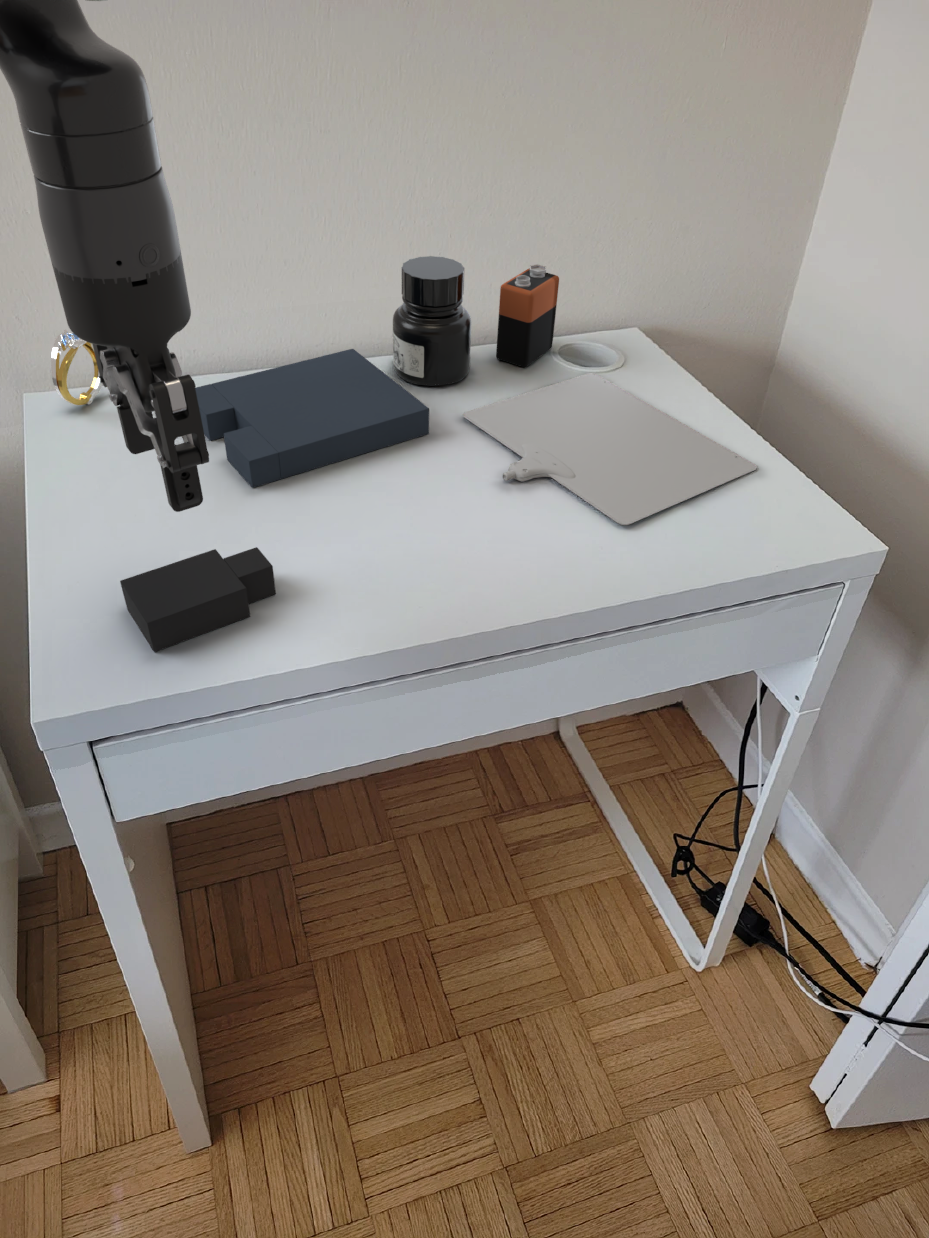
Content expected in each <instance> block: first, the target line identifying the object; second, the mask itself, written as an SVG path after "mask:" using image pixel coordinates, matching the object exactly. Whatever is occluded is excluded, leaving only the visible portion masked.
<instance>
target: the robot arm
mask: <svg viewBox="0 0 929 1238" xmlns="http://www.w3.org/2000/svg"><path fill="white" fill-rule="evenodd" d="M105 1H107V0H86V2H105ZM87 20H88V19H86V16H85V14H84V11H83V9H82V8H81V5H80V3H79V0H0V71H1V73H2V75H3V77H4V78H5V80H6V82H7V85H8V86H9V89H10V90H11V92H12V95H13V98H14V100H15V101H14V102H15V106H16V110H17V114H18V119H19V123H20V129H21V132H22V136H23V141H24V144H25V148H26V152H27V155H28V159H29V163H30V167H31V171H32V174H33V179H34V183H35V190H36V191H35V192H36V199H37V207H38V215H39V219H40V224H41V229H42V231H43V235H44V239H45V243H46V247H47V251H48V254H49V258H50V262H51V266H52V269H53V273H54V277H55V281H56V285H57V289H58V293H59V296H60V300H61V304H62V307H63V312H64V316H65V319H66V323H67V327H68V329H69V331H71V333H74V334H75V335H76V336H77V337H79V338H80V339H82V340H84V341H86V342H89V343H92V344H93V349H94V353H95V357H96V361H97V366H98V370H99V374H100V376H99V379H100V382H101V383H103V385H102V386H103V387H104V388H107V390H108V391H109V392H108V393H109V400H110V402H111V403H112V404H113V406H115V407H116V409H117V410H116V411H117V414H118V418H119V423H120V427H121V431H122V435H123V439H124V444H125V447H126V449H127V450H128V451H129V453H130V454H132V455H138V454H142V453H145V452H150V451H153V450H155V454H156V459H157V461H158V463H159V465H160V470H161V474H162V479H163V485H164V488H165V493H166V498H167V503H168V505H169V506H170V508H171V509H172V510H173V511H174V512H176V513H180V512H183V511H186V510H189V509H193V508H196V507H198V506H200V505H201V504H202V503H203V501H204V495H203V490H202V485H201V480H200V475H199V469H198V466H200V465H204V464H207V463H209V462H210V453H209V450H208V446H207V441H206V436H205V434H204V430H203V425H202V420H201V415H200V410H199V405H198V400H197V395H196V390H195V388H196V383H195V380H194V379H193V377H192V376H191V374H185V375H184V374H183V371H182V367H181V365H180V362H179V360H178V357H177V355H176V353H175V352H173V351H171V352H170V349H169V348H168V343H169V342H170V340H171V339H172V338H173V337H174V336H175V335H176V334H178V333H179V332H181V331H182V330H183V329H185V327H186V326H187V325H188V323H189V322H190V319H191V315H192V307H191V304H190V297H189V291H188V286H187V280H186V275H185V274H186V273H185V268H184V263H183V261H184V260H183V256H182V251H181V245H180V238H179V232H178V227H177V221H176V215H175V209H174V205H173V200H172V197H171V194H170V192H169V188H168V186H167V182H166V179H165V178H166V177H165V174H164V169H163V166H162V160H161V154H160V149H159V142H158V137H157V130H156V126H155V125H156V124H155V119H154V113H153V108H152V107H153V106H152V101H151V97H150V92H149V87H148V83H147V80H146V77H145V74H144V72H143V69H142V68H141V66H140V65H139V63H137V61H136V60H135V59H134V58H133V57H132V56H130V55H129V54H127V53H126V52H124V51H123V50H120V49H119V48H117V47H115V46H113V45H112V44H110V43H108V42H106V41H105V40H103V39H102V37H99V36H98V35H97V34H96V33H95V32H94V31H93V29H92V28H91V26H90V24H89V22H88V21H87ZM182 374H183V375H182ZM153 412H154V413H155V417H154V415H153ZM178 438H181V439H182V441H183V442H182V443H178V444H176V443H175V441H176V439H178Z"/></svg>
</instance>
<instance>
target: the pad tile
mask: <svg viewBox="0 0 929 1238" xmlns="http://www.w3.org/2000/svg"><path fill="white" fill-rule="evenodd" d="M119 582H120V587H121V591H122V594H123V598H124V602H125V606H126V609H127V611H128V613H129V614H130V616H131V618H132V619H133V621H134V622H135V624H136V626H137V627H138V629H139V630H140V632H141V634H142V636H143V637H144V638H145V640H146V641H147V643H148V645H149V646H150V648H151V650H152V651H153V653H156V652H158V651H161V650H164V649H167V648H170V647H172V646H175V645H177V644H180V643H182V642H183V643H184V642H186V641H189V640H192V639H194V638H196V637H199V636H202V635H205V634H207V633H210V632H213V631H215V630H217V629H221V628H223V627H226V626H228V625H231V624H235V623H237V622H239V621H242V620H245V619H247V618H250V617H251V613H250V606H249V605H250V604H252V603H255V602H258V601H260V600H263V599H267V598H269V597H271V596H274V595H276V594H277V592H276V591H277V590H276V583H275V575H274V566H273V564H272V563H271V562H270V561H269V559H267V557H266V556H265V554H264V553H262V551H261V550H260V549H259V548H258V547H256V546H255V547H253V548H251V549H246V550H244V551H240V552H238V553H236V554H235V553H234V554H232V555H229V556H227V557H222V555H221V554H220V553H219V551H218V550H217V549H216V548H215V549H211V550H209V551H208V550H207V551H205V552H201V553H199V554H196V555H193V556H190V557H187V558H184V559H181V560H178V561H175V562H172V563H169V564H166V565H163V566H159V567H157V568H154V569H151V570H148V571H145V572H142V573H138V574H136V575H132V576H130V577H127V578H124V579H121V580H119Z"/></svg>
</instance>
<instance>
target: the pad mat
mask: <svg viewBox="0 0 929 1238" xmlns="http://www.w3.org/2000/svg"><path fill="white" fill-rule="evenodd" d="M195 390H196V395H197V400H198V405H199V410H200V415H201V420H202V425H203V430H204V435H205V438H207V439H208V440H209V441H214V440H219V439H222V438H223V440H224V441H223V442H224V447H225V454H226V460H227V461H228V463H230V465H231V466H232V467H233V468H234V469H235V471H236V472H237V473H238V474H239V475H240V476H241V477H242V479H244V480H245V481H246V483H247V484H248V485H249V486H250V487H251V488H252V489H254V488H257V487H260V486H265V485H267V484H270V483H273V482H277V481H279V480H283V479H286V478H290V477H292V476H295V475H299V474H303V473H305V472H309V471H313V470H315V469H319V468H322V467H325V466H329V465H331V464H336V463H338V462H341V461H345V460H348V459H351V458H354V457H358V456H361V455H364V454H367V453H372V452H374V451H377V450H381V449H383V448H388V447H391V446H393V445H396V444H400V443H403V442H406V441H409V440H413V439H416V438H419V437H423V436H426V435H429V433H430V407H428V406H427V405H426V404H424V403H423V402H422V401H420V399H418V398H417V397H415V396H414V395H413V394H411V392H409V391H408V390H407V389H405V388H404V387H403V386H401V385H400V384H399V383H398V382H397V381H395V380H394V379H392V378H391V377H390V376H389V375H388V374H386V373H385V372H384V371H382V370H381V369H380V368H378V367H377V366H376V365H374V363H372V362H371V361H370V360H368V359H367V358H366V357H365V356H364V355H362V354H361V353H359V351H357V350H355V349H354V348H350V349H346V350H345V349H344V350H342V351H338V352H337V351H336V352H334V353H329V354H326V355H322V356H318V357H312V358H308V359H305V360H301V361H298V362H293V363H289V364H285V365H281V366H277V367H274V368H273V367H272V368H269V369H265V370H261V371H257V372H253V373H249V374H244V375H241V376H237V377H232V378H229V379H225V380H221V381H216V382H213V383H209V384H205V385H201V386H197V387H195Z"/></svg>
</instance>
